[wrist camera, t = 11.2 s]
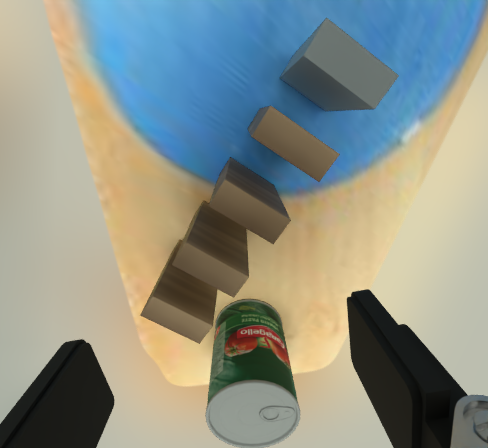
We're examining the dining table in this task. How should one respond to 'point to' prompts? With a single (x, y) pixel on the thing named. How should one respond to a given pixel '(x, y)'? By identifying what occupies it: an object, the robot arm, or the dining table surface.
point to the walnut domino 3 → (249, 201)
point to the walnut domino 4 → (292, 142)
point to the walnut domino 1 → (215, 251)
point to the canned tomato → (251, 378)
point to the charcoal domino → (338, 71)
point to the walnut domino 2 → (181, 302)
